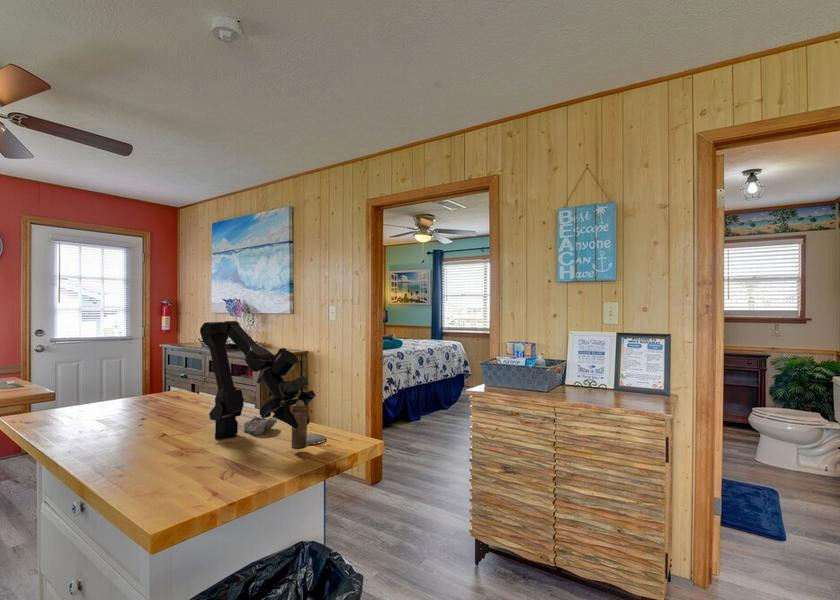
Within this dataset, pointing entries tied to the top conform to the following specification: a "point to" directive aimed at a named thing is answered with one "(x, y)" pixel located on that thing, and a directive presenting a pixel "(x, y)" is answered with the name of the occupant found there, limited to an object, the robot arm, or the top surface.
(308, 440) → the slate coaster
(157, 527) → the top surface
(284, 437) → the top surface
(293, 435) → the pepper mill
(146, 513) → the top surface
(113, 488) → the top surface
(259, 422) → the mineral specimen
